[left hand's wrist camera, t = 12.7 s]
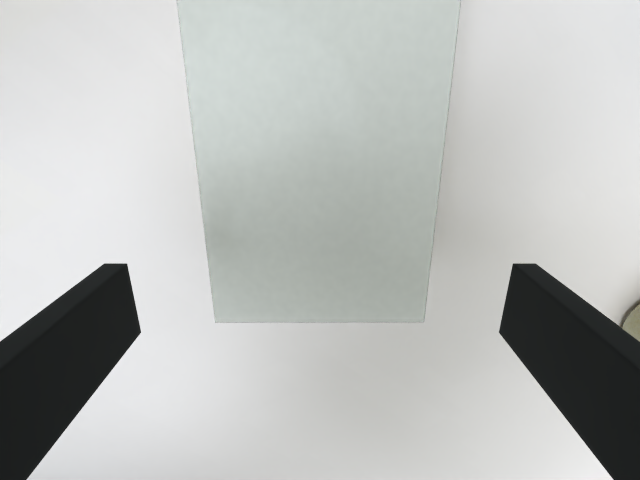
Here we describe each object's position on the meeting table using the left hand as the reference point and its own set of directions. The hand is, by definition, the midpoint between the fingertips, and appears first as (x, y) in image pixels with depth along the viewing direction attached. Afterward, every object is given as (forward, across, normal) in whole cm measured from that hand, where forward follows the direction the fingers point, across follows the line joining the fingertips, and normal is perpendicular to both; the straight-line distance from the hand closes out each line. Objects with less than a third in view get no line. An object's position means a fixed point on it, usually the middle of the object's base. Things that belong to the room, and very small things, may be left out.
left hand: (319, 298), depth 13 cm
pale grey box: (+14, 0, -6) cm, 15 cm away
